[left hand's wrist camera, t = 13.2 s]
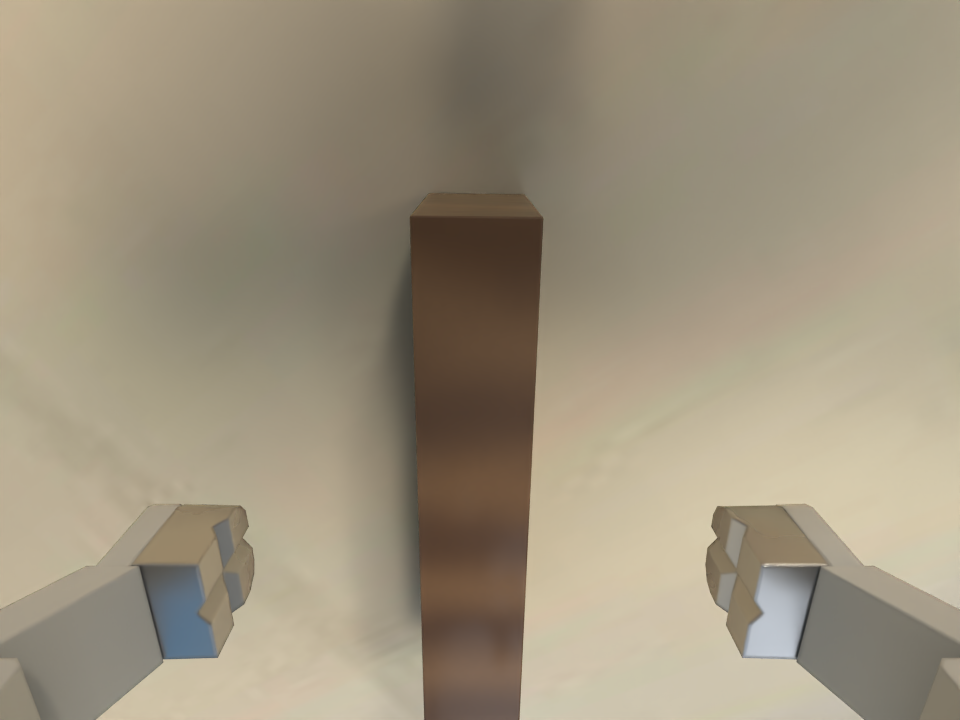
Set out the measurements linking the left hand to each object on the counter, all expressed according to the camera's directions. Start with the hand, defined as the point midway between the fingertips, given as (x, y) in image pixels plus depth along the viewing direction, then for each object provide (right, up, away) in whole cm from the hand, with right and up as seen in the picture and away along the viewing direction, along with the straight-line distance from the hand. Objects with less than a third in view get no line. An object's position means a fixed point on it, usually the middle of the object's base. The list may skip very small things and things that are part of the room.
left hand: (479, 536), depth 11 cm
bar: (0, -1, +23) cm, 23 cm away
